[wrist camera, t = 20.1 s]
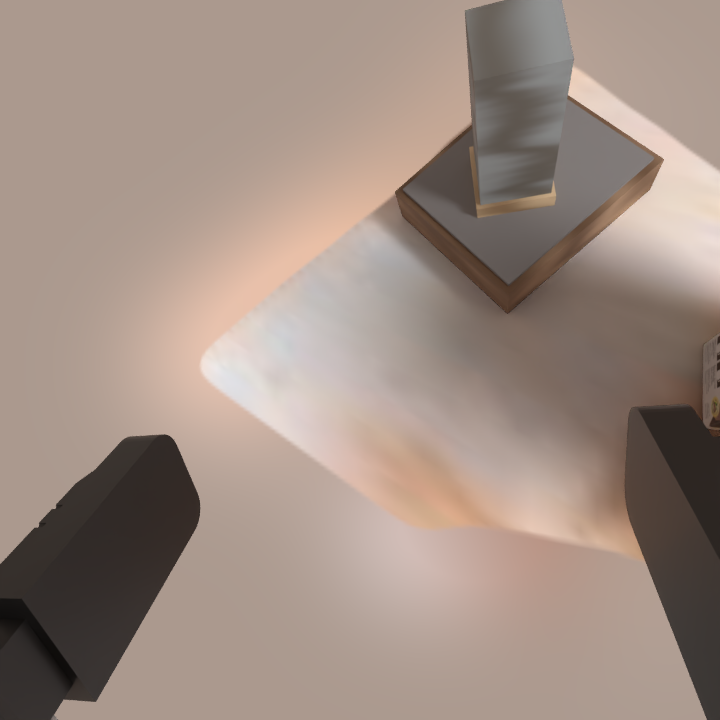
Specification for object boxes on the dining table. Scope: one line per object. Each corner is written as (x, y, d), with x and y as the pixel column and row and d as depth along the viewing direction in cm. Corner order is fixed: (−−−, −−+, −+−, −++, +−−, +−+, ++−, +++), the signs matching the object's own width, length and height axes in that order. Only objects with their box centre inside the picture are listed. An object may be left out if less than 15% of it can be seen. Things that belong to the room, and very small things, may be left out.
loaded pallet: (543, 142, 40) (563, -20, 28) (554, 205, 38) (581, 61, 26) (469, 157, 41) (458, 7, 29) (477, 218, 39) (469, 86, 27)
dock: (529, 105, 46) (532, 68, 42) (650, 189, 41) (665, 156, 37) (402, 216, 46) (394, 189, 42) (507, 313, 41) (508, 293, 37)
